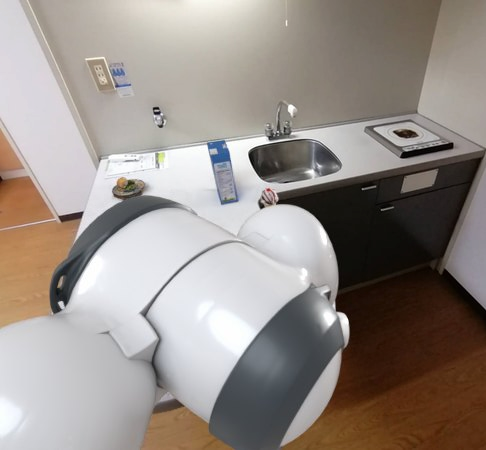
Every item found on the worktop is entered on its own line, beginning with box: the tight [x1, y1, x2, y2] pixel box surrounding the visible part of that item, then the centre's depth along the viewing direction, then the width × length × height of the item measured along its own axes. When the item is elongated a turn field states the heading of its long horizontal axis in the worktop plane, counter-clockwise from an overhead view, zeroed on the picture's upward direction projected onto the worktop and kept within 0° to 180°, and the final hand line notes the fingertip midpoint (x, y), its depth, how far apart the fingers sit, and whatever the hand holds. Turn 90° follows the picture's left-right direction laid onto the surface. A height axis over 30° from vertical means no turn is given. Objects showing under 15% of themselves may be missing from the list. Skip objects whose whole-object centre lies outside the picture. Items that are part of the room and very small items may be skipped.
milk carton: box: [206, 139, 239, 206], centre depth 109 cm, size 10×6×20 cm, turn 20°
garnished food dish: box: [111, 176, 146, 200], centre depth 117 cm, size 12×12×8 cm
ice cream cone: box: [259, 187, 279, 208], centre depth 98 cm, size 6×6×15 cm
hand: (210, 330), depth 67 cm, fingers open, 8 cm apart
